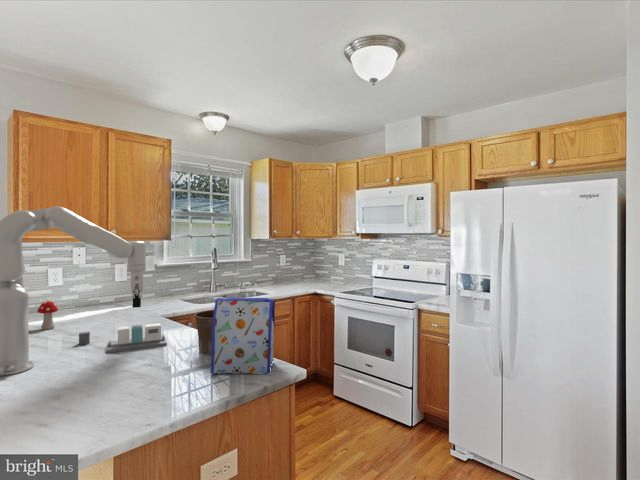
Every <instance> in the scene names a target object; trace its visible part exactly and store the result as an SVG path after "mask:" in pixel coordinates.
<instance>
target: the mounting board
mask: <svg viewBox="0 0 640 480" xmlns="http://www.w3.org/2000/svg"><path fill="white" fill-rule="evenodd" d="M161 337H162V335H161ZM143 339H145V337H143ZM131 340H132V338H129V341H131ZM113 342H118V340H113V341H112V340H111V343H113ZM165 345H168V343H167V340H166V338H165V340H162V341H154V342H145V343H137V344H128V345H120V346H111V347H108V344H107V345H106V350H105V351H106V352H105V353H106V354H109V353H110V352H111V353H116V352H117V351H119V352H125V350H127V351H133V349H135V350H141V348H143V349H150V348H149V347H151V348H157V346H159V347H165Z"/></svg>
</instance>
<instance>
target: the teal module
mask: <svg viewBox="0 0 640 480" xmlns="http://www.w3.org/2000/svg"><path fill="white" fill-rule="evenodd" d="M143 329H144V326H143V324H133V325H131V339H132V343H135V342H143V338H144V334H143V331H144V330H143Z"/></svg>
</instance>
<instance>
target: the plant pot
mask: <svg viewBox="0 0 640 480" xmlns="http://www.w3.org/2000/svg"><path fill="white" fill-rule="evenodd" d="M213 312H214V309H211V310H204V311H199V312H195V314H194V317H195V323H196V326H197V327H196V328H197V339H198V350H199V353H201V354H205V355H209V354H212V324H213Z"/></svg>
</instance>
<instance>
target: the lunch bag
mask: <svg viewBox="0 0 640 480" xmlns="http://www.w3.org/2000/svg"><path fill="white" fill-rule="evenodd" d="M275 308H276V301H274V298H268V297H226V298H225V297H224V298H216V299H215V303H214V308H213V310H214V312H213V324H212V353H210V354H211V355H210V357H211V358H210V374H216V373H217V374H221V373H270V374H271V372H270V367H271V364H272V361H274V349H275V329H276V328H275V327H276V326H275V325H276V321H275V320H276V319H275V317H276V316H275V315H276V313H275ZM221 375H222V374H221Z"/></svg>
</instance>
